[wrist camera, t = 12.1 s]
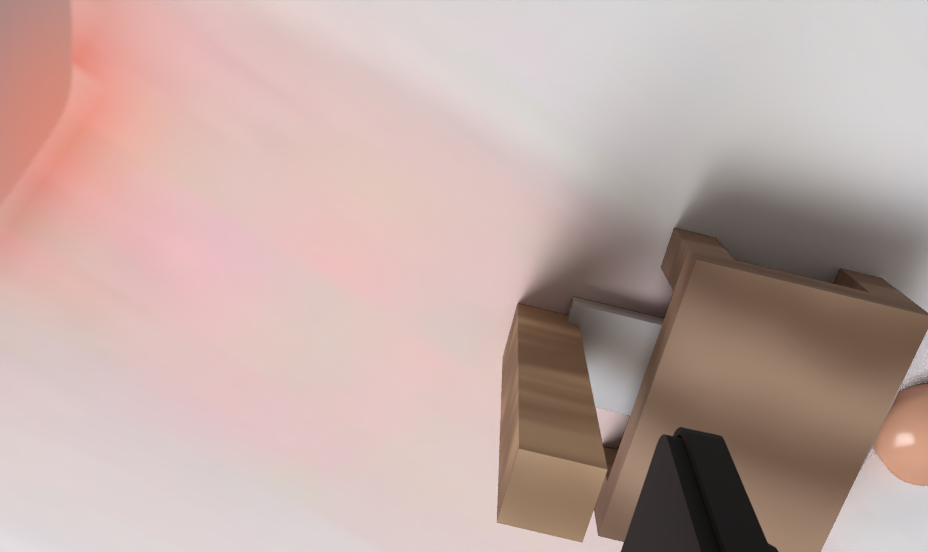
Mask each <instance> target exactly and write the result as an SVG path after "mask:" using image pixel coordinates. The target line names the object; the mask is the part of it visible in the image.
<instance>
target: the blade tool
mask: <svg viewBox="0 0 928 552" xmlns="http://www.w3.org/2000/svg"><path fill="white" fill-rule="evenodd" d="M663 321H664V318H660V317H656V316H652V315H647V314H643V313H639V312H635V311H631V310H626V309H622V308H618V307H614V306H610V305H606V304H601V303H597V302H593V301H589V300H585V299H581V298H576V297H573V299H572V303H571V306H570V309H569V313H568V315H564V314H560V313H556V312H551V311H547V310H543V309H539V308H535V307H531V306H526V305H522V304H517V308H516V311H515V315H514V319H513V322H512V326H511V330H510V333H509V337H508V340H507V344H506V348H505V351H504V355H503V364H502V393H501V421H500V450H499V478H498V506H497V523H501V524H505V525H510V526H514V527H518V528H523V529H527V530H531V531H535V532H540V533H544V534H548V535H553V536H557V537H561V538H565V539H570V540H574V541H578V542H583V539H584V536H585V533H586V530H587V528H588V525H589V522H590V519H591V516H592V513H593V510H594V507H595V504H596V502H597V499H598V496H599V493H600V490H601V487H602V484H603V481H604V479H605V476H606V473H607V470H608V469H607V464H606V459H605V454H604V449H603V444H602V439H601V434H600V429H599V423H598V418H597V413H596V408H599V409H603V410H608V411H612V412H616V413H620V414H624V415H629V416H630V415H631V412H632V409H633V406H634V404H635V401H636V398H637V395H638V392H639V389H640V386H641V384H642V381H643V378H644V375H645V372H646V369H647V366H648V364H649V361H650V358H651V355H652V352H653V349H654V346H655V344H656V341H657V338H658V335H659V332H660V329H661V327H662V324H663ZM901 385H902V383H901ZM900 387H901V386H900ZM899 390H900V388H899ZM899 390H898V392H899ZM898 392H897V394H898ZM897 394H896V396H897ZM896 396H895V398H896ZM895 398H894V400H895ZM894 400H893V402H894ZM893 402H892V404H893ZM892 404H891V406H892ZM891 406H890V408H891ZM890 408H889V410H890ZM889 410H888V412H889ZM887 415H888V413H887ZM887 415H886V417H887ZM886 417H885V419H886ZM885 419H884V421H885ZM884 421H883V423H884ZM883 423H882V425H883ZM882 425H881V427H882ZM881 427H880V429H881ZM880 429H879V431H880ZM879 431H878V433H879ZM878 433H877V435H878ZM877 435H876V437H877ZM876 437H875V440H876ZM875 440H874V442H875ZM874 442H873V444H874ZM873 444H872V446H873ZM872 446H871V448H872ZM871 448H870V450H871ZM870 450H869V452H870ZM869 452H868V454H869ZM868 454H867V456H868ZM867 456H866V458H867ZM866 458H865V460H866ZM865 460H864V462H865ZM864 462H863V464H862V467H863V465H864ZM862 467H861V469H862ZM861 469H860V470H861Z"/></svg>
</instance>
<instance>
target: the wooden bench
mask: <svg viewBox="0 0 928 552" xmlns="http://www.w3.org/2000/svg"><path fill="white" fill-rule="evenodd" d="M661 269H662V271H663V273H664V274H665V276H666V278H667V280H668V282H669V284H670V285H671V287H672V289H673V291H674V292H673V295H672V298H671V301H670V304H669V307H668V309H667V312H666V315H665V318H664V321H663V324H662V327H661V329H660V332H659V335H658V338H657V341H656V344H655V346H654V349H653V352H652V355H651V358H650V361H649V364H648V366H647V369H646V372H645V375H644V378H643V381H642V384H641V386H640V389H639V392H638V395H637V398H636V401H635V404H634V406H633V409H632V412H631V415H630V418H629V421H628V423H627V426H626V429H625V432H624V435H623V438H622V441H621V443H620V446H619V449H618V450H617V449H612V448H608V447H604V446H603V449H604V454H605V459H606V464H607V469H608V470H607V473H606V476H605V479H604V481H603V484H602V487H601V490H600V493H599V496H598V499H597V502H596V504H595V507H594V512H595V518H596V525H597V531H598V536H601V537H605V538H610V539H614V540H618V541H622V542H624V541H625V538H626V535H627V532H628V529H629V526H630V523H631V520H632V517H633V514H634V511H635V508H636V505H637V502H638V499H639V496H640V493H641V490H642V487H643V484H644V481H645V478H646V475H647V472H648V469H649V466H650V463H651V460H652V457H653V454H654V451H655V448H656V445H657V443H658V440H659V438H660V437H661V435H663V434H665V435H670V436H673V434H674V432H675V431H676V429H678V428H679V427H683V428H688V429H693V430H697V431H702V432H707V433H712V434H716V435H720V436H722V437H723V439H724V440H725V443H726V445H727V448H728V450H729V452H730V455H731V457H732V459H733V462H734V464H735V467H736V469H737V471H738V474H739V476H740V478H741V481H742V483H743V485H744V488H745V490H746V493H747V495H748V497H749V500H750V502H751V504H752V507H753V509H754V511H755V514H756V516H757V519H758V521H759V523H760V526H761V528H762V530H763V533H764V535H765V537H766V540H767V542H768V544H771V545H772V546H774V547H776V548H777V550H778V552H821V550H822V548H823V545H824V543H825V541H826V539H827V537H828V535H829V533H830V531H831V529H832V527H833V525H834V523H835V521H836V518H837V516H838V514H839V512H840V510H841V508H842V506H843V504H844V502H845V500H846V498H847V496H848V494H849V491H850V489H851V487H852V485H853V483H854V481H855V479H856V477H857V475H858V473H859V471H860V469H861V467H862V464H863V462H864V460H865V458H866V456H867V454H868V452H869V450H870V448H871V446H872V444H873V442H874V440H875V437H876V435H877V433H878V431H879V429H880V427H881V425H882V423H883V421H884V419H885V417H886V415H887V413H888V410H889V408H890V406H891V404H892V402H893V400H894V398H895V396H896V394H897V392H898V390H899V388H900V386H901V383H902V381H903V379H904V377H905V375H906V373H907V371H908V369H909V367H910V365H911V363H912V361H913V359H914V356H915V354H916V352H917V350H918V348H919V346H920V344H921V342H922V340H923V338H924V336H925V334H926V332H927V329H928V313H927V312H926V311H925V310H923V309H922V308H921V307H919V306H918V305H917V304H915V303H914V302H913V301H911V300H910V299H909V298H907V297H906V296H905V295H903V294H902V293H901V292H899V291H898V290H897V289H895V288H894V287H893V286H891V285H890V284H889V283H887V282H886V281H885V280H883V279H882V278H878V277H874V276H870V275H866V274H861V273H857V272H853V271H849V270H845V269H840V271H839V274H838V276H837V278H836V281H835V283H834V284H832V283H828V282H824V281H820V280H816V279H812V278H808V277H803V276H799V275H795V274H791V273H787V272H783V271H779V270H775V269H771V268H766V267H762V266H758V265H754V264H750V263H746V262H742V261H738V260H734V259H733V258H732V256H731V255H730V254H729V253H728V252H727V250H726V249H725V248H724V247H723V246H722V245H721V243H720V242H719V241H718V240H717V239H716V238H714V237H709V236H705V235H701V234H697V233H693V232H689V231H685V230H681V229H677V228H674V230H673V233H672V236H671V239H670V242H669V245H668V248H667V251H666V254H665V257H664V260H663V262H662V265H661Z"/></svg>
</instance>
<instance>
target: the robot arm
mask: <svg viewBox="0 0 928 552" xmlns="http://www.w3.org/2000/svg"><path fill="white" fill-rule="evenodd" d="M621 552H778V550H777V548H776V547H774V546H772V545H771V544H768V542H767V540H766V537H765V535H764V533H763V530H762V528H761V526H760V523H759V521H758V519H757V516H756V514H755V511H754V509H753V507H752V504H751V502H750V500H749V497H748V495H747V493H746V490H745V488H744V485H743V483H742V481H741V478H740V476H739V474H738V471H737V469H736V467H735V464H734V462H733V459H732V457H731V455H730V452H729V450H728V448H727V445H726V443H725V440H724V439H723V437H722V436H720V435H716V434H712V433H707V432H702V431H697V430H693V429H688V428H683V427H679V428H678V429H676V431H675V432H674V434H673V436H670V435H665V434H663V435H661V437H660V438H659V440H658V443H657V445H656V448H655V451H654V454H653V457H652V460H651V463H650V466H649V469H648V472H647V475H646V478H645V481H644V484H643V487H642V490H641V493H640V496H639V499H638V502H637V505H636V508H635V511H634V514H633V517H632V520H631V523H630V526H629V529H628V532H627V535H626V538H625V541H624V544H623V547H622V550H621Z"/></svg>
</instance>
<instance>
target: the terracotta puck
mask: <svg viewBox="0 0 928 552" xmlns="http://www.w3.org/2000/svg"><path fill="white" fill-rule="evenodd" d="M872 447H873V449H874V451H875V453H876V454H877V456H878V457H879V458H880V459H881V461H882V462H883V463H884V464H885V466H886V467H887V468H888V469H889V471H890V472H891V473H892V474H893V475H894V476H896V477H897V478H899V479H900V480H902V481H904V482H907V483H910V484H914V485H920V486H928V383H926V384H919V385H915V386H911V387H908V388H905V389H903V390H901V391H899V392H898V394H897V396H896V398H895V400H894V402H893V404H892V406H891V408H890V410H889V412H888V415H887V417H886V419H885V421H884V423H883V425H882V427H881V429H880V431H879V433H878V435H877V437H876V440H875V442H874V444H873V446H872Z"/></svg>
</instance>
